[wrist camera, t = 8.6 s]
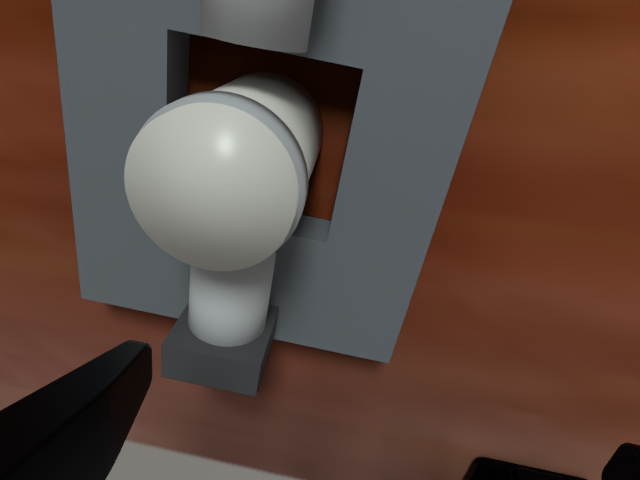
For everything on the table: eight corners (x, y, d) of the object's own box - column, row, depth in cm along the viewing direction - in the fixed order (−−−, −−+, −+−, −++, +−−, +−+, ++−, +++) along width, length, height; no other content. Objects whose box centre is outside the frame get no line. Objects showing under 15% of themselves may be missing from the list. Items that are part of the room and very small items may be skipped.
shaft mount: (387, 334, 21) (392, 430, 16) (105, 274, 21) (26, 351, 16) (528, -99, 13) (618, -164, 8) (74, -189, 13) (-97, -305, 8)
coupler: (316, 197, 18) (287, 291, 12) (206, 174, 18) (121, 256, 12) (337, 80, 16) (316, 122, 10) (213, 55, 16) (113, 81, 10)
